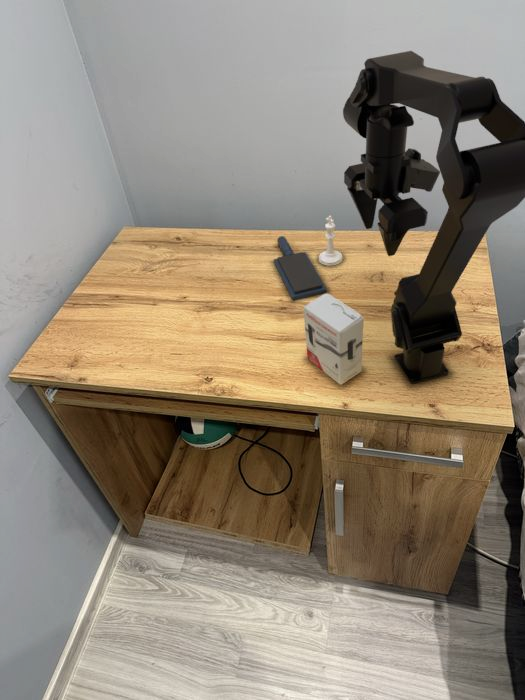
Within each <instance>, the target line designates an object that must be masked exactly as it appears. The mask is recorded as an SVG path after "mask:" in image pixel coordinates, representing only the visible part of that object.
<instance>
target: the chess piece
mask: <svg viewBox="0 0 525 700" xmlns="http://www.w3.org/2000/svg"><path fill="white" fill-rule="evenodd" d="M325 220H326V221H327V223H325V224H324V227H325V230H326V233H325V234H324V238H325V239H327V242H326V243H327V245H326V250H324V251H322V252H320V253H319V256H318V262H319V263H320V264H322V265H324V266H329V267H330V266H331V267H332V266H336V265H339V264H340V263H342V261H343V254H342V253H341V252H340V251H338V250H335V245H334V239H335V238H336V233H335V232H334V231H335V228H336V224H335V220H334V218H333V219H332V215H328V217H326V218H325Z"/></svg>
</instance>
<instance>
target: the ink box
mask: <svg viewBox="0 0 525 700" xmlns="http://www.w3.org/2000/svg"><path fill="white" fill-rule="evenodd" d="M302 309H303V320H304V321H303V322H304V333H305V343H306V345H305V346H306V358H307V360H308V361H310V362H311V363H312V364H313V365H315V366H316V367H317V368H318V369H320V370H321V371H322V372H323V373H324V374H326V375H327V376H329V377H330V378H331V379H332V380H334V381H335V382H336V383H337V384H339V385H340V386H342V385H344V384H345V383H346V382H348V381H350V380H351V379H352V378H354V377H356V376H357V375H359V374H360V373H361V372H362V370H363V347H364V345H363V343H364V342H363V339H364V317H363V316H362V314H361V313H360V312H358V311H356V310H355V309H353V308H352V307H350V306H348V305H347V304H345V302H344V303H343V302H342V301H340V300H339V299H338V298H336V297H334V296H333V295H331V294H330V293H327V292H326V293H322V295H320V296H318V297H317V298H315V299H313V300H312V301H310V302H308V303H307V304H304V305H303V307H302Z"/></svg>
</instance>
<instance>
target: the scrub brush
mask: <svg viewBox="0 0 525 700" xmlns="http://www.w3.org/2000/svg"><path fill="white" fill-rule="evenodd" d="M276 242H277V244H278V246H279V248H280V250H281V252H282V253H283V256H278V257H277V258H274V259H273V263H274V265H275V268H276V270H277V272H278V274H279V276H280V277H281V280H282V282H283V284H284V286H285V288H286V291H287V292H288V294H289V296H290V299H291V300H292V301H296V300H300V299H305V298H309V297H313V296H317V295H321V294H322V295H323V294H326V293H327V292H328V288H327V287H326V285H325V283H324V282H323V280H322V278H321V277H320V275H319V273H318V272H317V269H316V268H315V266H314V265H313V263H312V261H311V259H310V258H309V256H308V254H307V252H306V251H300V252H296V253H295V252H294V251H293V249H292V247H291V245H290V244H289V241H288V240H287V238H286V237H285V236H283V235H280V236H279V237H278V238H277V239H276Z"/></svg>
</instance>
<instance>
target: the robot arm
mask: <svg viewBox="0 0 525 700" xmlns="http://www.w3.org/2000/svg"><path fill="white" fill-rule="evenodd" d="M363 64H364V68H362V69H361V70H360V72H359V74H358V77H357V80H356V82H355V86H354V87H353V88H352V91H351V93H350V95H349V96H348V98H347V100H346V101H345V103H344V107H343V109H342V115H343V116H342V117H343V119H344V121H345V123H346V124H347V125H348V126H349V127H350V128H351V129H352V130H354V131H355V133H357V134H358V135H359V136H360V137H362V138H363V139H365V153H361V154H360V162H361V163H357V164H353V165H349V166H348V167H347V168H346V169H345V171H344V172H343V183H344V185H346V188H347V191H348V192H349V195H350V197H351V200H352V201H353V203H354V205H355V208H356V210H357V212H358V214H359V217H360V219H361V221H362V223H363V225H364V227H365V229H366V230H369V229H372V228H373V226H374V222H375V217H376V215H375V214H376V210H377V204H378V200H379V201H380V202H381V203H382V204H383V205H382V206H381V207H380V208H379V210H378V213H377V214H378V215H377V217H378V221H379V222H377V227H378V230H379V233H380V236H381V239H382V243H383V245H384V249H385V252H386V254H387V257H392V256H395V255H396V253H397V251H398V250H399V247H400V246H401V243H402V242H403V239H404V237H405V236H406V234H407V233H408V232H409V231H410V230H412V229H417V228H420V227H425V226H426V225H427V221H428V215H429V211H428V210H427V209H425V208H424V207H423V205H422V204H420V203H419V202H418V201H417V200H416V199H415V198H414V197H408V198H405V199H404V198H403V199H402V197H401V196H399V195H400V194H409V193H411V189H416V190H424V191H425V192H427V193H430V192H432V191H433V189H434V187H435V184H436V182H437V180H438V179H439V176H440V174H441V178H442V181H443V184H442V189H441V191H442V194H443V196H444V198H445V201H446V203H447V205H448V209H447V211H446V214H445V216H444V218H443V220H442V222H441V224H440V227H439V229H438V231H437V233H436V236H435V238H434V240H433V242H432V245H431V246H430V249H429V251H428V254H427V256H426V258H425V261H424V262H423V265H422V267H421V269H420V271H419V273H417V274H412V275H409V276H405V277H402V278H401V279H400V280H399V281H398V285H397V289H396V290H395V291H394V292H393V295H394V299H393V303H391V308H390V316H391V327H392V328H391V330H392V333H393V334H392V335H393V337H394V346H395V347H396V348H399V349H402V350H403V352H400V353H397V354H394V356H393V359H394V361H395V362H396V364H397V365H398V368H399V369H400V370H401V371H402V373H403V374H404V376H405V378H407V381H408V383H410V384H412V385H414V384H418V383H423V382H426V381H429V380H433V379H437V378H440V377H445V376H447V375H449V373H450V372H449V369H448V368H447V366H446V365H445V364H444V362H443V361H444V360H443V359H444V354H445V349H446V347H445V344H448V343H452V342H458V341H459V340H460V338H461V337H462V336H463V332H462V329H461V325H460V324H461V323H460V320H459V316H458V313H457V309H456V306H457V300H456V299H455V296H454V294H453V293H452V292H453V290H454V288H455V287H456V285H457V283H458V281H459V280H460V278H461V276H462V274H463V273H464V271H465V270H466V268H467V266H468V264H469V263H470V261H471V259H472V257H473V256H474V254H475V252H476V250H477V249H478V247H479V246H480V244H481V242H482V240H483V239H484V237H485V235H486V233H487V232H488V230H489V228H490V226H491V225H492V224H493V223H495V222H496V221H497V220H499V219H500V218H502V217H503V216H505V215H506V214H508V213H509V212H511V211H512V210H514V209H516V208H517V207H518V206H519V205H520V204H521V203H522V201H524V199H525V121H524V120H523V119H522V117H520V116H519V115H518V114H517V113H516V112H515V111H513V110H512V109H511V108H510V107H509V106H508V105H507V104H506V103H505V102H504V101H502V99H501V97H500V93H499V91H498V87H497V85H496V84H495V82H494V80H493V79H491V78H490V77H487V78H486V77H485V76H477V77H474V76H469V75H465V74H460V73H456V72H451V71H448V70H442V69H438V68H433V67H428V66H425V59H424V57H423V56H420V55H419V54H418V53H416V52H414V50H407V51H401V52H397V53H392V54H386V55H380V56H375V57H370V58H367V59H366V60H365V61H364V63H363ZM396 104H399V105H401V106H399V105H396ZM407 107H408V108H410V109H414V110H416V111H419V112H421V113H424V114H426V115H429V116H432V117H435V118H437V120H438V121H439V125H440V128H441V132H440V138H439V142H438V146H437V150H436V156H435V159H436V162H437V165H438V168H437V167H435V166H434V165H433V164H432V163H430V162H429V161H426V160H425V159H424V158H422V154H421V152H419V151H418V150H417V149H415V148H407V150H406V146H407V135H408V127H412V126H414V124H415V121H414V118H413V116H412V115H411V113H409V111H408V109H407ZM475 120H478V123H480V125H481V126H482V127H484V129H485V130H486V131H487V132H488V133H490V135H492V136H493V137H494V139H497V141H498V142H497V143H492V144H488V145H483V146H482V145H481V146H478V147H474V148H469V149H468V148H467V149H464V150H460V149H459V146H458V143H457V140H456V138H457V133H458V128H459V124H462V123H465V122H470V121H475Z"/></svg>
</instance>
